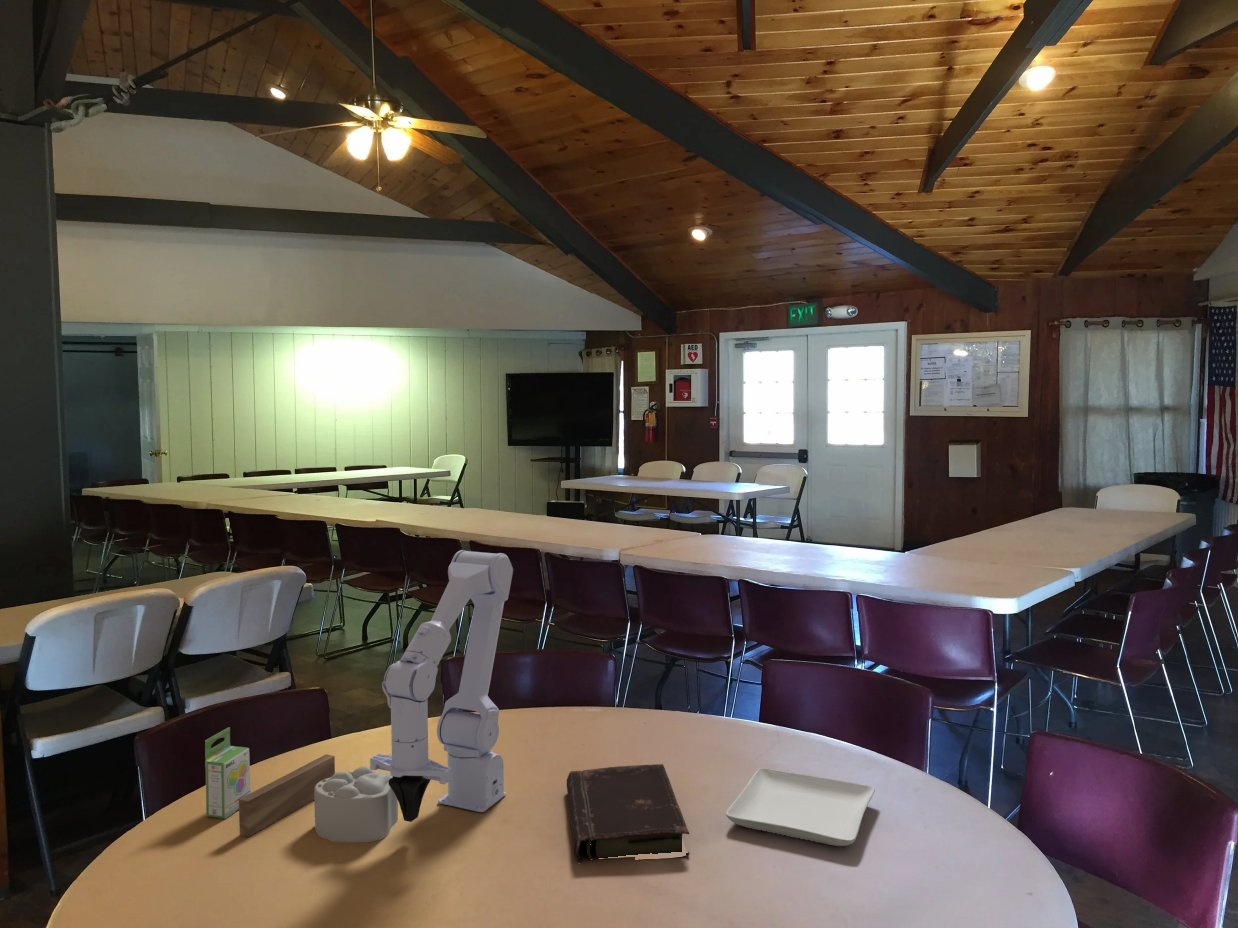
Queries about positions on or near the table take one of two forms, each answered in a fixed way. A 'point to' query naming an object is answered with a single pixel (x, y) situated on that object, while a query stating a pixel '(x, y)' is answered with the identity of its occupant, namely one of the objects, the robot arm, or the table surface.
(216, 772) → the ink box
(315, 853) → the table surface
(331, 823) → the lumpy-topped squat cylinder
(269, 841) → the table surface
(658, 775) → the diary
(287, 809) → the walnut board
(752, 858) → the table surface
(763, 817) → the salad plate
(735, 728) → the table surface
